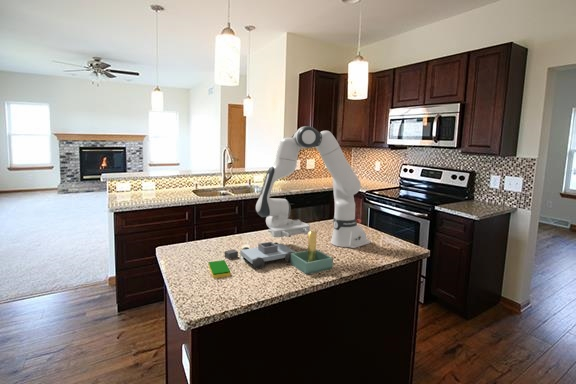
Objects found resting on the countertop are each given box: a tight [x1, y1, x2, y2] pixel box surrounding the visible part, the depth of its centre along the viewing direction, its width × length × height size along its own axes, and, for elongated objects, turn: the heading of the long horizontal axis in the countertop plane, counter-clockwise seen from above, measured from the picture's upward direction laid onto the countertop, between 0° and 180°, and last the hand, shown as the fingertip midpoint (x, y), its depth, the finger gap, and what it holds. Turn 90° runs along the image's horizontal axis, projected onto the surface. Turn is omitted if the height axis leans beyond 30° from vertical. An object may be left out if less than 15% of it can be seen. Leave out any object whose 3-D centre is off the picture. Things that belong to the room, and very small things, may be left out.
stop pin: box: [307, 230, 318, 262], centre depth 144 cm, size 4×4×15 cm
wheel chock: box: [224, 249, 239, 260], centre depth 156 cm, size 5×4×3 cm
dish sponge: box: [208, 259, 231, 279], centre depth 140 cm, size 7×14×2 cm, turn 21°
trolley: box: [239, 241, 296, 270], centre depth 152 cm, size 22×16×8 cm
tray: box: [290, 248, 334, 276], centre depth 145 cm, size 14×14×5 cm
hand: (298, 234), depth 154 cm, fingers open, 8 cm apart
